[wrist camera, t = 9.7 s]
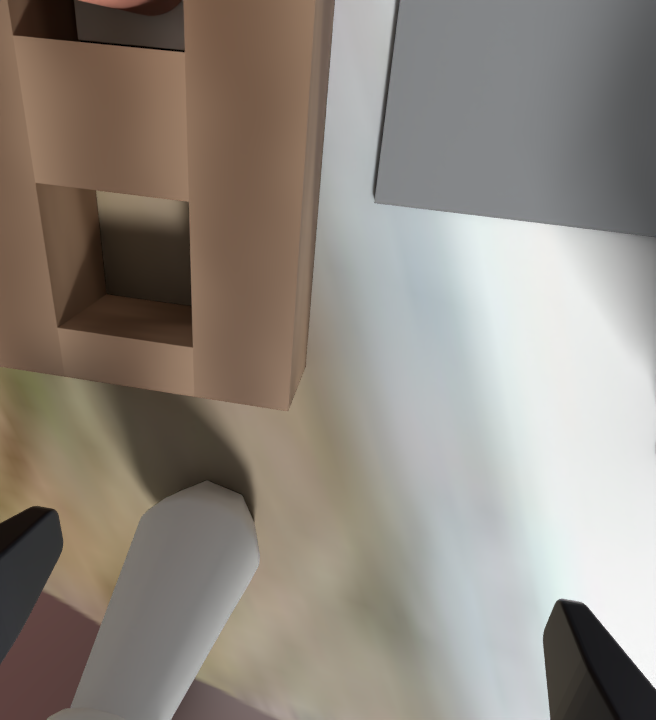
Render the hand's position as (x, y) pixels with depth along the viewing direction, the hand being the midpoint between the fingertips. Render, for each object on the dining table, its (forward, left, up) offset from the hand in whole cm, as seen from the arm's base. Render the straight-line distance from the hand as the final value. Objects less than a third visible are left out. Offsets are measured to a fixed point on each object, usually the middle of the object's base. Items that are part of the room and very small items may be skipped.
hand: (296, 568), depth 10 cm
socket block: (+8, -6, -13) cm, 16 cm away
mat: (-5, -9, -13) cm, 17 cm away
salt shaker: (+6, +12, -13) cm, 19 cm away
